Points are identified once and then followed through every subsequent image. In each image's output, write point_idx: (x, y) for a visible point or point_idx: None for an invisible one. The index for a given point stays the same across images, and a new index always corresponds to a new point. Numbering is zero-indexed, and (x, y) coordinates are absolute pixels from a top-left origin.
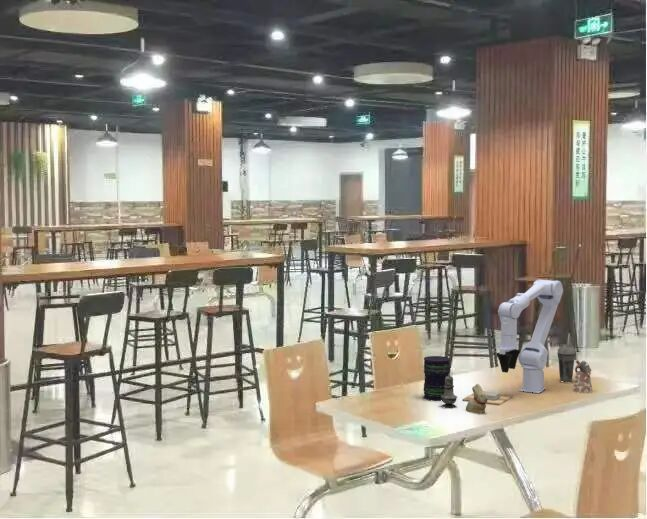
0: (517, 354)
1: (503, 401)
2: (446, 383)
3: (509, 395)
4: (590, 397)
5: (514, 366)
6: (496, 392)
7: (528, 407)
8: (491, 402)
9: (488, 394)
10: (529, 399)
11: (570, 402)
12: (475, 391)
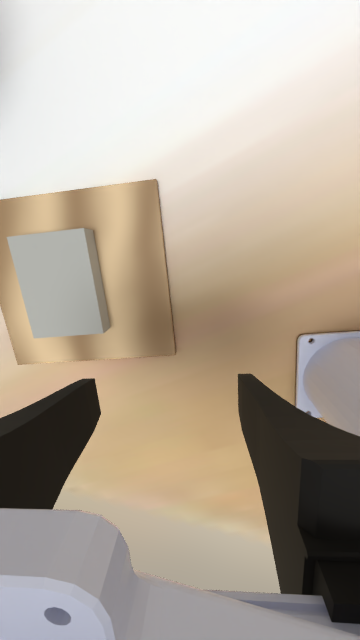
0: (277, 573)
1: (64, 361)
2: None
3: (169, 344)
4: None
5: (241, 426)
6: (99, 316)
7: None
8: (13, 333)
9: (38, 304)
10: (180, 413)
11: (218, 522)
12: None
